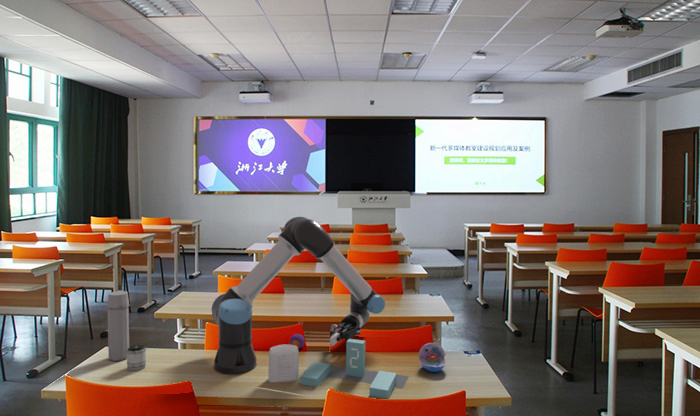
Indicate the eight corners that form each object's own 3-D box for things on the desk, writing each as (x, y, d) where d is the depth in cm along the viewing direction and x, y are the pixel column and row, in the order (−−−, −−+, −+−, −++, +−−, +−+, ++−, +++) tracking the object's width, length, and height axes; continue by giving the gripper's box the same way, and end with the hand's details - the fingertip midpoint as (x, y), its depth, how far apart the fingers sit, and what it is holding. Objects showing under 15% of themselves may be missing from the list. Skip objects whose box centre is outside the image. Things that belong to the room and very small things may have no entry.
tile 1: (314, 370, 171) (300, 385, 160) (314, 361, 171) (300, 376, 160) (330, 372, 169) (317, 388, 158) (330, 364, 169) (317, 378, 158)
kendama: (275, 354, 177) (290, 332, 197) (278, 369, 178) (293, 346, 197) (290, 352, 176) (304, 330, 196) (293, 367, 177) (307, 344, 196)
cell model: (422, 377, 167) (423, 350, 166) (415, 364, 179) (416, 339, 178) (450, 377, 168) (451, 350, 167) (442, 363, 180) (442, 338, 179)
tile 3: (379, 379, 164) (369, 396, 152) (379, 370, 163) (369, 387, 152) (396, 382, 162) (387, 399, 150) (396, 373, 161) (387, 390, 150)
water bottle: (121, 362, 176) (120, 296, 175) (103, 360, 178) (101, 294, 176) (137, 353, 185) (136, 290, 184) (119, 351, 187) (118, 289, 185)
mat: (302, 373, 169) (302, 372, 169) (313, 363, 178) (313, 362, 178) (402, 389, 158) (402, 388, 158) (408, 377, 167) (408, 376, 167)
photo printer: (297, 376, 167) (298, 341, 166) (299, 381, 163) (299, 346, 162) (268, 378, 164) (268, 343, 164) (268, 384, 160) (268, 348, 159)
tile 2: (345, 375, 167) (346, 341, 166) (348, 371, 170) (349, 338, 169) (362, 377, 165) (362, 343, 165) (364, 374, 168) (365, 340, 168)
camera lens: (126, 372, 168) (126, 351, 167) (127, 366, 174) (127, 345, 173) (146, 370, 170) (145, 348, 170) (146, 363, 176) (146, 342, 175)
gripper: (366, 334, 199) (348, 354, 177) (336, 330, 203) (315, 349, 181) (366, 316, 198) (348, 334, 176) (337, 313, 202) (315, 329, 180)
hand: (331, 341), depth 178 cm, fingers closed
